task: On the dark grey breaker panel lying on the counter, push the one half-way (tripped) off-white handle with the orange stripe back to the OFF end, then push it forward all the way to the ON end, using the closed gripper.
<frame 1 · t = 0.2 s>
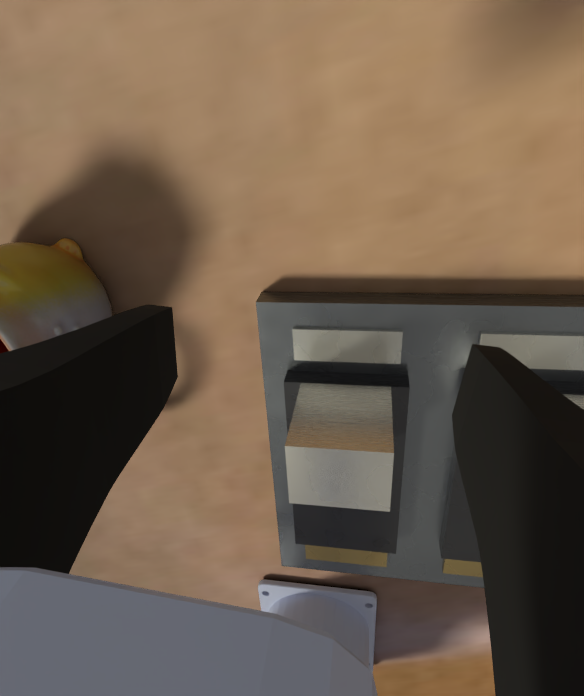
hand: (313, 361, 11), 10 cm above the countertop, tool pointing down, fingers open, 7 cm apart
mug: (85, 340, 25), on the countertop
breaker panel: (503, 456, 24), on the countertop
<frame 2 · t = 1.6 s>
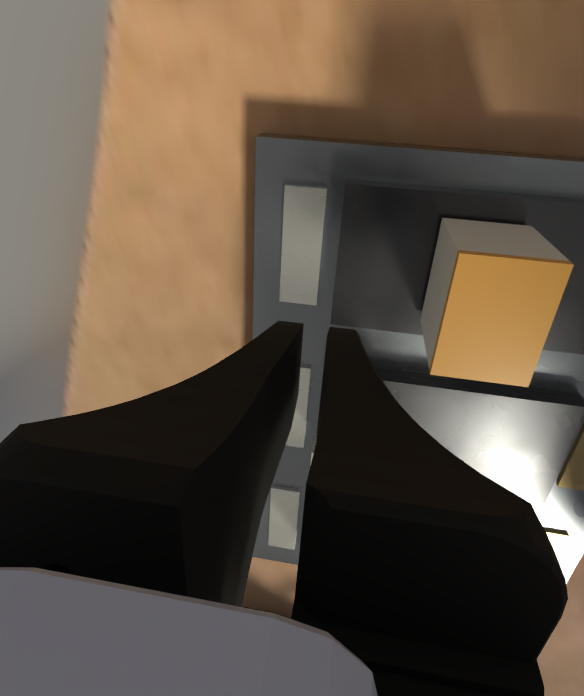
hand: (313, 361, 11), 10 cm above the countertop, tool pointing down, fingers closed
breaker panel: (434, 411, 23), on the countertop
tripped breaker handle: (482, 297, 15), point 4 cm above the countertop, slide at 3.5 cm
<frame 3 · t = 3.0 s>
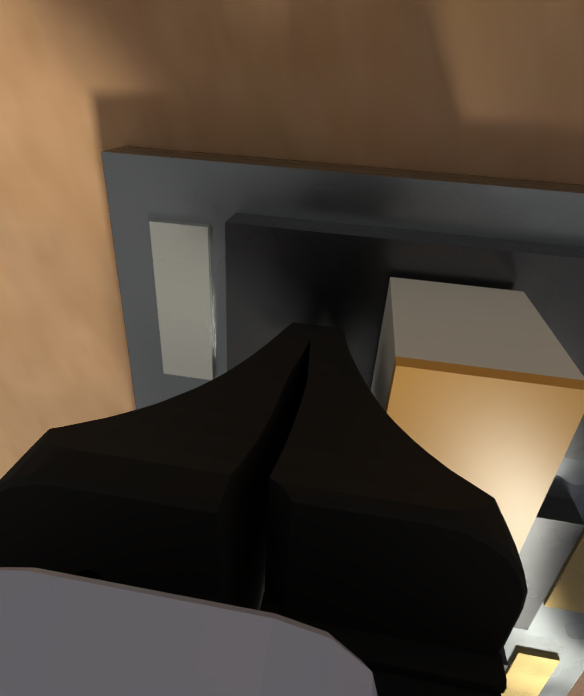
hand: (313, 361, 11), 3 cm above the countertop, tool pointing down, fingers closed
breaker panel: (384, 503, 18), on the countertop
tripped breaker handle: (447, 405, 10), point 5 cm above the countertop, slide at 2.9 cm, touching gripper
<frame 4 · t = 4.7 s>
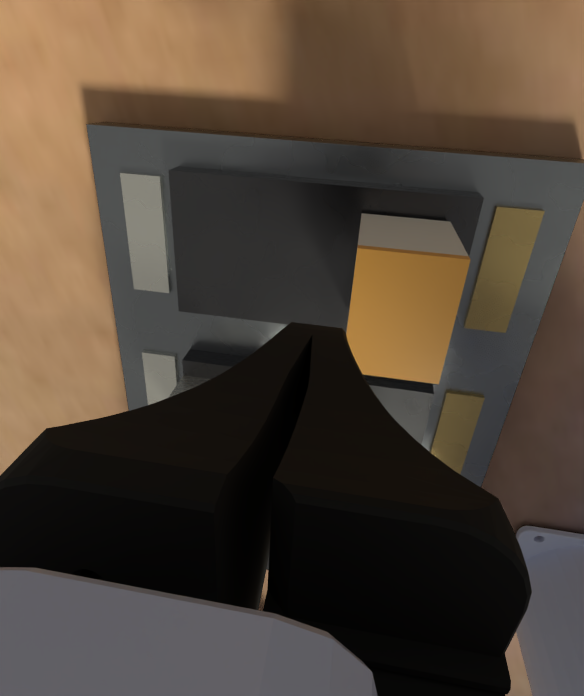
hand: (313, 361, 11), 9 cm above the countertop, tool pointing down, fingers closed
breaker panel: (306, 399, 23), on the countertop
tripped breaker handle: (397, 293, 15), point 5 cm above the countertop, slide at 0.0 cm
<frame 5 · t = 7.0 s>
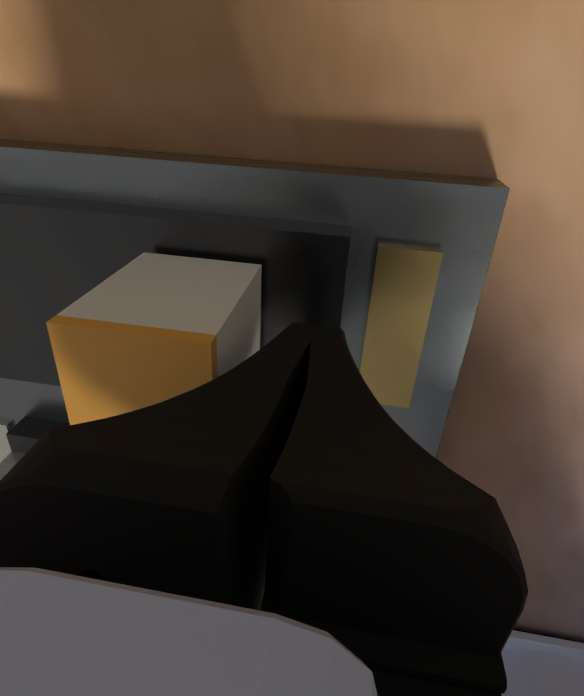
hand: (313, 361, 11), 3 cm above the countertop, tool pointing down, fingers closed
breaker panel: (186, 472, 19), on the countertop
tripped breaker handle: (177, 369, 11), point 4 cm above the countertop, slide at 1.1 cm, touching gripper
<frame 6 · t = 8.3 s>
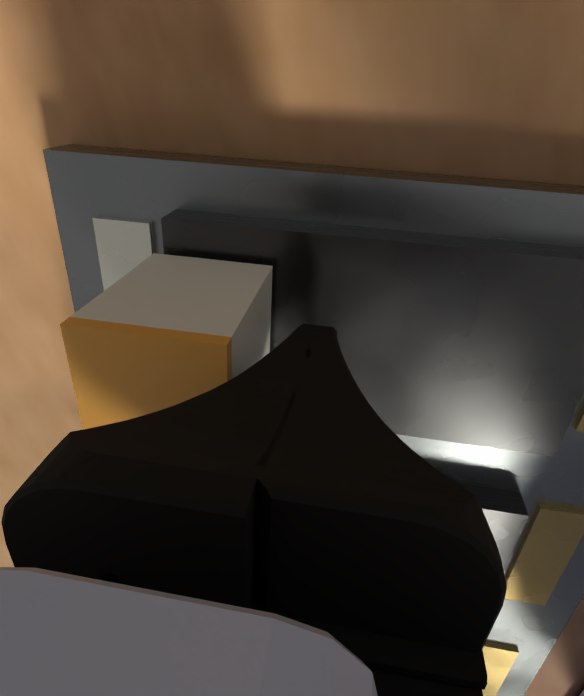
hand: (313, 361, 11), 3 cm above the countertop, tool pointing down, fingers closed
breaker panel: (343, 497, 18), on the countertop
tripped breaker handle: (188, 371, 11), point 5 cm above the countertop, slide at 7.1 cm, touching gripper
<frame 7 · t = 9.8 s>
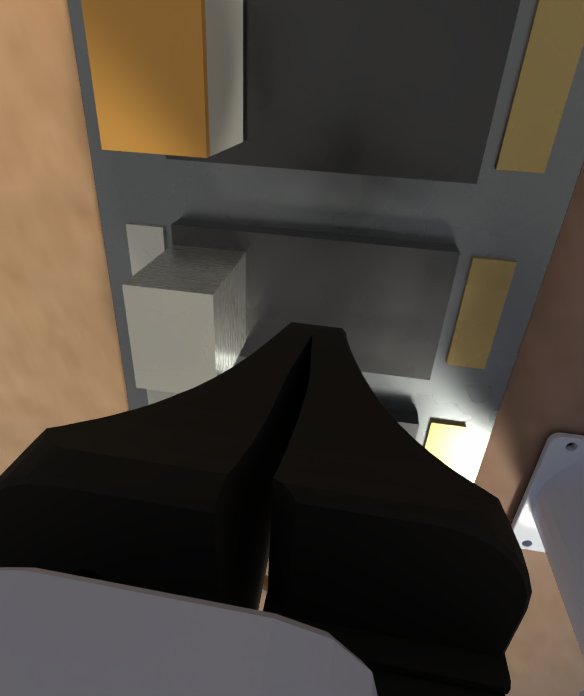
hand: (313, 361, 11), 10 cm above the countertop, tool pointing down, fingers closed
breaker panel: (312, 285, 21), on the countertop
tripped breaker handle: (175, 70, 13), point 5 cm above the countertop, slide at 7.0 cm
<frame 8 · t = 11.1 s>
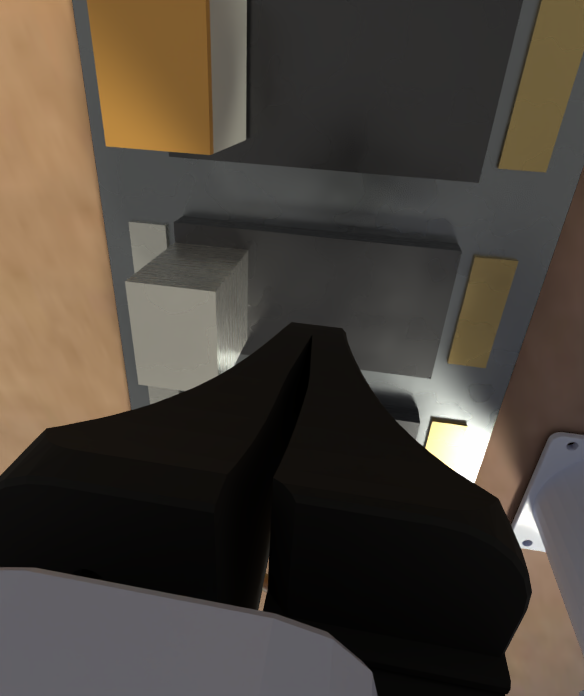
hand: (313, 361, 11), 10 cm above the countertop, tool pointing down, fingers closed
breaker panel: (313, 284, 21), on the countertop
tripped breaker handle: (179, 68, 14), point 4 cm above the countertop, slide at 7.0 cm
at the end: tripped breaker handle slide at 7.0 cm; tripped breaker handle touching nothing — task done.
